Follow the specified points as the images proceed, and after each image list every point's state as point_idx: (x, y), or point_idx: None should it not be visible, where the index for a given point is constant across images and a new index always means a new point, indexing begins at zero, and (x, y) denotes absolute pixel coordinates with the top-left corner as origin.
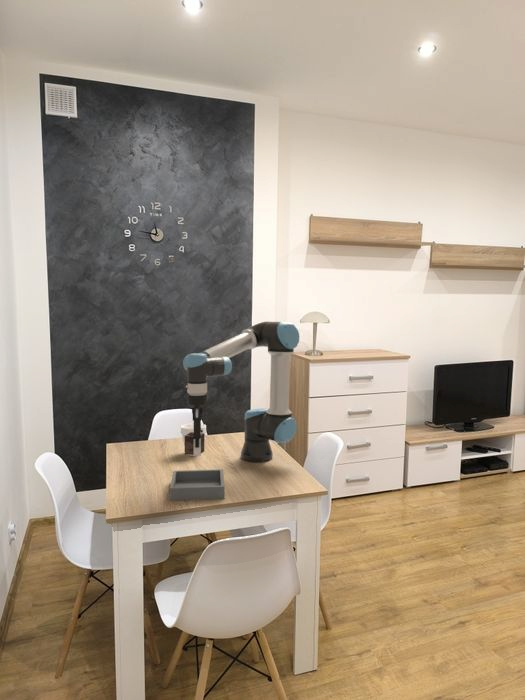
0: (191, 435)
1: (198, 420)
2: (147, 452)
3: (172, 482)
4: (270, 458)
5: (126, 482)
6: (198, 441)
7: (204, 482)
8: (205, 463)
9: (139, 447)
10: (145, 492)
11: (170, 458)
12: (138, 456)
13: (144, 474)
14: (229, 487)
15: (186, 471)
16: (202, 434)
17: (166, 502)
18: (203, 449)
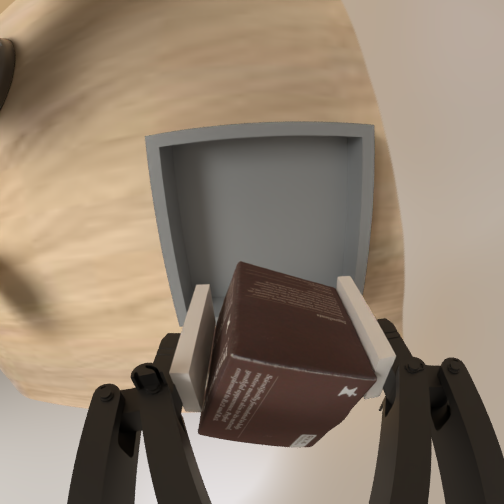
0: (311, 426)
1: (500, 496)
2: (24, 357)
3: None
4: (4, 39)
5: None
6: (407, 352)
7: (201, 202)
8: (26, 223)
9: (13, 366)
10: None
11: (28, 316)
12: (48, 372)
13: None
14: (242, 102)
15: (181, 285)
16: (282, 370)
17: None
18: (261, 274)
